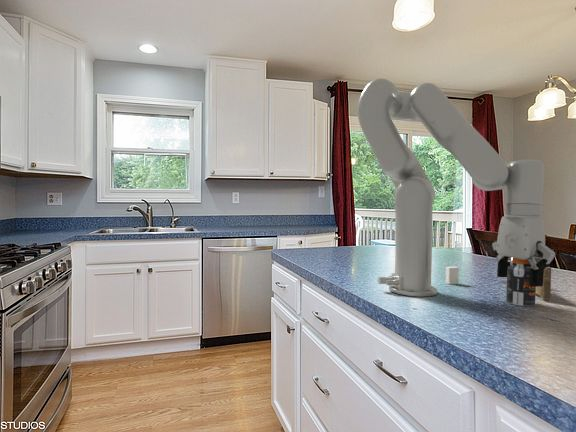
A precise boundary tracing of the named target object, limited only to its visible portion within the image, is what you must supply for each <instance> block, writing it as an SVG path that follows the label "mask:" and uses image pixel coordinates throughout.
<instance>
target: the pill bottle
mask: <svg viewBox="0 0 576 432" xmlns="http://www.w3.org/2000/svg"><path fill="white" fill-rule="evenodd" d="M512 263H513V264H512V265H510V266H509V267H508V269H507V277H506V280H507V284H506V296H505V301H506V302H507V303H508V304H511V305H514V306H519V307H533V306H534V307H535V305H536V297H537V294H536V287H532V286H530V285H529V277H530V269H533V268H532V266H531V264H530V263H529V261H528V259H527V260H522V259H517V258H512Z"/></svg>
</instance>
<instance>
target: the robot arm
mask: <svg viewBox="0 0 576 432" xmlns="http://www.w3.org/2000/svg"><path fill="white" fill-rule="evenodd" d="M357 104H358V105H357V117H358V119H357V120H358V123H359V125H360V126H359V127H360V128H361V131H362V132H363V135H364V137H365V139H366V141H367V143H368V145H369V147H370V149H371V151H372V153H373V155H374V157H375V158H376V160H377V163H378V164H379V167H380V169H381V171H382V172H383V173H384V174H385V175H386V176H387V177H389V179H390V180H391V183H392V184H393V185H394V188H395V193H394V212H395V242H394V243H395V247H394V251H395V252H394V253H395V254H394V272H391V275H389V276H386V277H385V276H378V277H377V283H378V285H386V286H388V290H389V291H390V292H391V293H394V294H398V295H402V296H407V297H408V296H409V297H421V298H422V297H423V298H424V297H432V296H436V295H437V294H438V288H437V287H435V286H432V266H433V265H432V262H433V259H432V257H433V256H432V255H433V203H434V201H435V198H436V191H435V188H434V186H433V184H432V182H431V180H430V178H428V175H427V174H426V172H425V170H424V168H423V167H422V165H421V163H420V160H419V159H418V158H417V156H416V155H415V153H414V152H413V150H411V148H410V147H408V145H406V143H405V141H404V139H403V138H402V137H401V135H400V133H399V131H398V129H397V127H396V125H395V124H394V122H393V120H394V121H404V122H413V123H415V122H416V123H421V124H423V126H424V127H425V128H426V130H427V131H428V133H430V135H431V136H432V137H433V138H434V139H435V140H436V142H437V143H438V144H439V146H440V147H441V148H443V149H445V150H446V151H448V153H450V154H451V155H452V156H453V157H454V158H455V159H456V161H458V163H459V164H460V165H461V166H462V167H463V169H464V170H465V171H466V173H468V175H469V176H470V178H471V180H472V183H473V184H474V185H473V186H475V187H476V188H477V189H479V190H482V191H484V192H485V191H486V192H490V191H499V190H505V199H504V200H505V201H504V203H505V204H504V208H503V210H504V216H502V217H501V219H500V223H499V227H498V230H497V231H498V232H497V240H496V241H494V242H492V243H491V246H492V249H493V254H494V256H495V260H496V262H497V271H496V272H497V273H496V276H497V278H507V269H508V267H509V266H510V260H511V257H512V258H517V259H522V260H527V259H528V261H529V263H530V264H531V266H532V268H533V269H530V277H529V285H530V286H532V287H538V286H543V278H544V270H546V269H547V267H550V265H551V264H552V261H553V260H554V258H555V256H556V252H555V251H554V250H552V249H551V248H549V247H548V245H546V232H545V231H546V229H545V228H546V227H545V223H544V217H543V218H542V216H543V215H542V214H543V213H542V212H543V201H544V200H543V198H544V196H543V195H544V180H545V164H544V162H543V161H542V160H537V159H519V160H514V161H511V162H509V163H508V162H506V161H505V160H504V159H503V158H502V157H501V156H500V154H499V153H498V152H497V151H496V150H495V148H494V146H492V145H491V143H489V141H488V140H486V138H485V137H483V135H481V133H479V131H478V130H477V129H476V128H475V127H474V126H473V125H472V124H471V123H470V122H469V121H468V120H467V119H466V117H465V116H464V115H463V114H462V113H461V112H460V110H459V109H458V108H457V107H456V106H455V105H454V104H453V102H451V100H450V99H449V98H448V96H446V94H445V93H444V92H443V91H442V89H440V88H439V87H438V86H437V85H435V84H434V83H431V82H423V83H420V84H418V85H417V86H415V88H413V89H412V91H411V92H410V91H409V92H408V91H399V90H398V88H397V87H396V85H395V84H394V83H393V82H392V81H390V80H388V79H386V78H381V77H380V78H376V79H373V80H372V81H370V82H369V83H368V84H367V85H365V87H364V89H363V91H362V92H361V94H360V97H359V100H358V103H357Z"/></svg>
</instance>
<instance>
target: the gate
mask: <svg viewBox="0 0 576 432" xmlns="http://www.w3.org/2000/svg"><path fill="white" fill-rule="evenodd" d="M551 286H552V267H550V266H548V267H547V269H546V270H544V278H543V286H538V287H536V295H538V296H540V299H542V300H547V301H548V300H549V301H550V300H551V293H552V292H551V291H552V287H551Z"/></svg>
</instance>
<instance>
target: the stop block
mask: <svg viewBox="0 0 576 432" xmlns="http://www.w3.org/2000/svg"><path fill="white" fill-rule="evenodd" d="M459 273H460V269H459V267H457V266H445V282H444V283H445V284H448V285H459V275H460V274H459Z"/></svg>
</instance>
